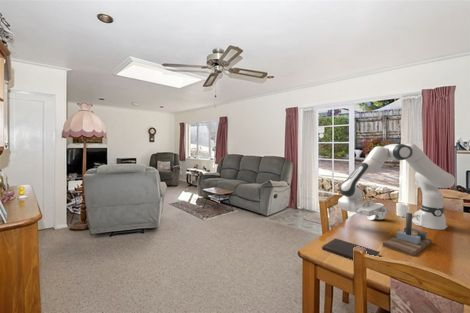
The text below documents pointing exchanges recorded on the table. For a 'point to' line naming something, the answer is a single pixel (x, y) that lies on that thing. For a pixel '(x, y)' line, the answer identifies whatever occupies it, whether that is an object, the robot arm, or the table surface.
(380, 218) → the spread jar
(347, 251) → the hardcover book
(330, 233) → the table surface
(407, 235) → the jaw carriage
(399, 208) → the white cup
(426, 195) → the robot arm
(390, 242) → the press board
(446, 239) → the table surface
